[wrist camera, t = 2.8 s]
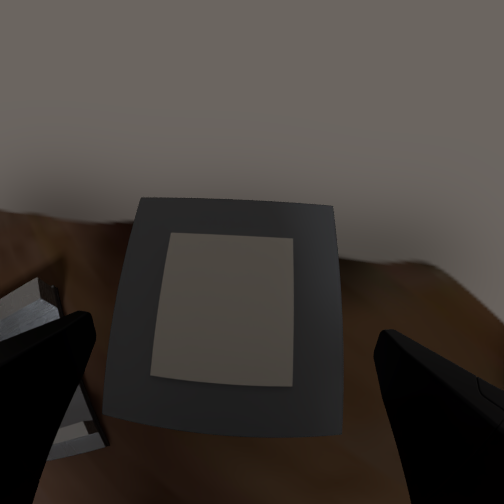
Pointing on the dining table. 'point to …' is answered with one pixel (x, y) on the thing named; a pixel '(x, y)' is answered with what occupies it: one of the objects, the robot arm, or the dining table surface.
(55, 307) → the din rail
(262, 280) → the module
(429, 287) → the dining table surface
